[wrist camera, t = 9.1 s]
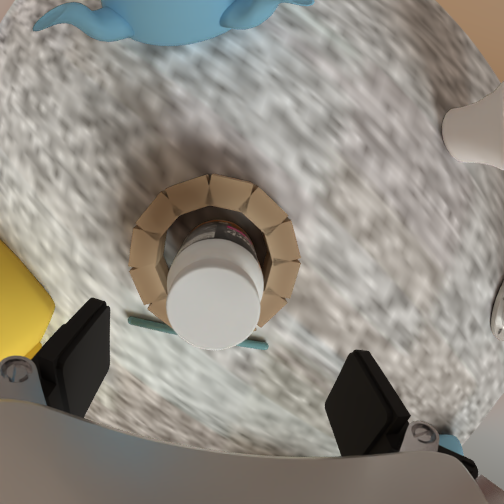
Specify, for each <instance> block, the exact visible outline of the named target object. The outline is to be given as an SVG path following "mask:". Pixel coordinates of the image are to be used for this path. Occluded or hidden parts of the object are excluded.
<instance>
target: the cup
mask: <svg viewBox="0 0 504 504" xmlns="http://www.w3.org/2000/svg"><path fill="white" fill-rule="evenodd" d="M442 135H443V141H444V144H445V146H446V148H447V150H448V151H449V153H450V154H451V156H452V157H453V158H455V159H456V160H457V161H458V162H464V163H482V164H487V165H491V166H494V167H496V168H499V169H501V170H504V81H503V82H502V83H501V84H500V86H499V87H498V88H497V89H496V90H495V91H494V92H493V93H491V94H489V95H487V96H486V97H485V98H483V99H482V100H480V101H479V102H476V103H473V104H470V105H467V106H464V107H460V108H453V109H450V110H449V111H448V112H447V113H446V115H445V117H444V120H443V123H442Z"/></svg>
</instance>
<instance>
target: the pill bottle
mask: <svg viewBox="0 0 504 504" xmlns="http://www.w3.org/2000/svg"><path fill="white" fill-rule="evenodd" d="M263 289H264V281H263V274H262V271H261V267H260V264H259V261H258V259H257V255H256V253H255V249H254V246H253V243H252V241H251V239H250V237H249V236H248V234H247V233H246V232H245V231H244V230H243V229H242V228H241V227H239V226H238V225H236V224H234V223H232V222H229V221H225V220H211V221H206V222H204V223H202V224H200V225H198V226H197V227H195V228H194V229H193V230H192V231H191V232H190V233H189V234H188V236H187V237H186V239H185V240H184V242H183V244H182V246H181V248H180V250H179V251H178V253H177V255H176V257H175V259H174V261H173V263H172V265H171V267H170V270H169V272H168V276H167V293H168V296H167V300H166V312H167V317H168V320H169V322H170V324H171V326H172V328H173V330H174V331H175V332H176V333H177V334H178V335H179V336H180V337H181V338H182V339H183V340H185V341H186V342H187V343H189V344H191V345H193V346H195V347H198V348H202V349H206V350H222V349H227V348H231V347H233V346H236V345H238V344H239V343H241V342H243V341H244V340H245V339H247V338H248V337H249V336H250V334H251V333H252V332H253V330H254V329H255V327H256V325H257V323H258V321H259V316H260V308H261V307H260V302H261V299H262V295H263Z"/></svg>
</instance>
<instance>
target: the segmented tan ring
mask: <svg viewBox="0 0 504 504" xmlns="http://www.w3.org/2000/svg"><path fill="white" fill-rule="evenodd" d="M209 205H211V206H216V207H220V208H225V209H229V210H234V211H238V212H242V213H243V214H244V215H245V216H246V217H247V218H248V219H249V220H251V221H252V222H253V223H254V224H255V225H256V226H257V227H258V228H259V229H260V230H261V231H262V235H263V238H264V242H265V245H266V249H267V252H266V256H265V260H264V263H263V267H262V274H263V281H264V289H263V295H262V299H261V302H260V307H261V308H260V316H259V321H258V323H257V325H258V326H259V327H262V326H263V325H264V324H266V323H267V322H268V321H269V320H270V319H271V318H272V317H273V316H274V315H275V314H276V313H277V312H278V311H279V310H280V309H281V308H282V307H283V306H285V305H286V304H287V301H286V299H285V298H290V297H291V294H292V290H293V287H294V284H295V281H296V277H297V274H298V271H299V267H300V264H301V263H300V262H299V260H298V259H299V258H301V256H300V252H299V249H298V245H297V241H296V237H295V233H294V229H293V225H292V221H291V220H290V219H289V218H288V217H287V216H288V215H287V214H286V213H285V212H284V211H283V210H282V209H281V208H280V207H279V206H278V205H277V204H276V203H275V202H274V201H273V200H272V199H271V198H270V197H269V196H268V195H267V194H266V193H265V192H264V191H262V190H261V189H260V188H259V187H258V186H256V185H255V184H254V185H253V183H251V182H249V181H245V180H240V179H236V178H232V177H227V176H222V175H218V174H212V175H211V180H210V178H209V175H208V174H206V175H203V176H200V177H197V178H194V179H191V180H188V181H185V182H182V183H179V184H176V185H173V186H171V187H168V188H166V190H164V191H162V192H160V193H159V195H158V196H157V197H156V198H155V199H154V201H153V202H152V203H151V204H150V205H149V207H148V208H147V209H146V210H145V212H144V213H143V214H142V215H141V217H140V218H139V219H138V220H137V222H136V224H137V226H136V227H134V228H133V233H132V241H131V248H130V257H129V266H131V267H132V269H131V270H130V271H129V272H130V274H131V276H132V279H133V281H134V283H135V286H136V288H137V290H138V293H139V295H140V297H141V299H142V302H143V304H144V305H146V304H149V303H150V305H149V307H148V310H149V311H150V312H152V313H153V314H154V315H155V316H157V317H158V318H159V319H161V320H162V321H163V322H164V323H166V324H167V325H168V326H170V327H171V328H172V326H171V324H170V322H169V320H168V317H167V312H166V300H167V296H168V293H167V276H168V272H169V269H168V266H167V264H166V261H165V259H164V256H163V253H164V247H165V241H166V235H167V229H168V228H169V227H170V226H171V225H172V223H173V222H174V221H175V220H176V219H177V218H178V216H179V215H182V214H185V213H188V212H191V211H194V210H197V209H200V208H203V207H206V206H209ZM172 329H173V328H172ZM253 331H256V327H255V329H254V330H253Z"/></svg>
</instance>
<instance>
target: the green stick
mask: <svg viewBox="0 0 504 504" xmlns="http://www.w3.org/2000/svg"><path fill="white" fill-rule="evenodd" d="M128 323H129V324H131V325H135V326H140V327H144V328H148V329H152V330H157V331H161V332H166V333H171V334H175V335H178V334H177V333H176V332H175V331H174V330H173V329H172V328H171V327H170V326H168V325H166V324H162V323H157V322H153V321H148V320H144V319H140V318H136V317H129V318H128ZM236 346H241V347H248V348H254V349H261V350H266V349H268V347H269V345H268V343H266V342H260V341H253V340H246V339H245V340H244V341H243V342H241V343H239V344H238V345H236Z"/></svg>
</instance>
